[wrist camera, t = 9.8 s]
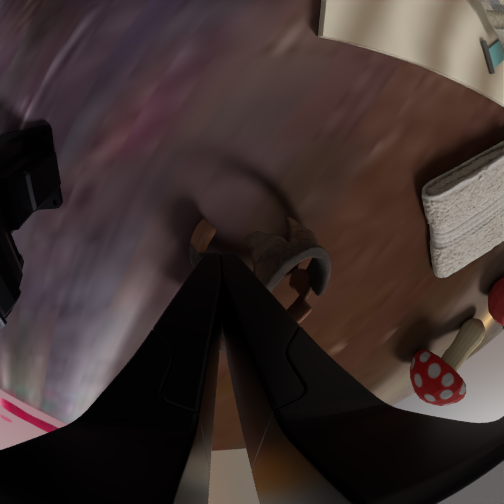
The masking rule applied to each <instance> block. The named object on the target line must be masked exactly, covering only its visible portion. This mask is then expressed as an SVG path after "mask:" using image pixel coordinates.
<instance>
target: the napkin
mask: <svg viewBox="0 0 504 504" xmlns="http://www.w3.org/2000/svg"><path fill="white" fill-rule="evenodd" d="M499 1H500V3H501V4H504V0H499ZM318 37H321V38H325V39H330V40H335V41H339V42H343V43H348V44H352V45H356V46H359V47H363V48H367V49H370V50H374V51H377V52H380V53H384V54H387V55H390V56H393V57H396V58H399V59H402V60H405V61H407V62H410V63H413V64H415V65H418V66H421V67H423V68H426V69H428V70H431V71H433V72H435V73H438V74H440V75H442V76H445V77H447V78H449V79H451V80H454V81H456V82H458V83H460V84H462V85H464V86H466V87H468V88H470V89H472V90H474V91H476V92H478V93H480V94H482V95H483V96H485V97H487V98H489V99H491V100H492V101H494V102H496V103H498V104H499V105H501V106H503V107H504V53H503V50H502V48H501V45H500V43H499V40H498V38H497V35H496V33H495V31H494V28H493V26H492V25H491V24H490V22H489V20H488V17H487V13H486V11H485V9H484V7H483V5H482V3H481V1H480V0H321V10H320V20H319V30H318Z"/></svg>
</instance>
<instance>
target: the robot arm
mask: <svg viewBox="0 0 504 504" xmlns="http://www.w3.org/2000/svg"><path fill="white" fill-rule="evenodd" d="M44 129H45V130H46V132H47V133H46V135H45V134H44ZM60 184H61V182H60V176H59V170H58V164H57V157H56V153H55V152H54V145H53V136H52V129H51V127H50V126H49V125H42V126H37V127H32V128H27V129H23V130H18V131H14V132H10V133H6V134H2V135H0V329H1V328H2V327H4V326H5V325H6V323H7V321H6V320H5V319H6V318H7V316H8V315H9V314H10V312H11V310H12V309H13V307H14V305H15V304H16V302H17V300H18V299H19V297H20V294H21V290H20V289H19V287H20V283H21V280H22V276H23V274H22V268H23V264H24V260H23V258H22V256H21V254H19V252H18V250H17V247H16V245H15V242H14V240H13V237H12V235H11V234H12V232H13V231H14V230H18V229H19V228H20V227H21V226H22V225H23V223H24V222H25V221H26V220H27V219H28V218H29V217H30V215H31V214H32V213H33V212H35V211H37V210H41V209H56V208H59V207H60V206H61V205H62V203H63V199H62V194H61V189H60ZM55 200H57V201H58V203H56V202H55ZM221 322H222V332H223V339H224V344H225V349H226V354H227V360H228V365H229V370H230V375H231V380H232V385H233V390H234V395H235V399H236V404H237V409H238V413H239V418H240V423H241V427H242V432H243V436H244V440H245V445H246V449H247V453H248V458H249V462H250V466H251V469H252V474H253V478H254V483H255V487H256V491H257V495H258V498H259V502H260V504H504V416H503V417H502V418H500V419H499V420H496V421H493V422H489V423H471V422H464V421H457V420H451V419H445V418H440V417H435V416H429V415H424V414H419V413H415V412H410V411H405V410H402V409H398V408H395V407H393V406H391V405H389V404H387V403H385V402H383V401H382V400H380V399H379V398H378V397H376V396H375V395H374V394H372V393H371V392H370V391H369V390H368V389H367V388H365V387H364V386H363V385H362V384H361V383H360V382H358V381H357V380H356V379H355V378H354V377H353V376H351V375H350V374H349V373H348V372H347V371H346V370H344V369H343V368H342V367H341V366H340V365H339V364H338V363H336V362H335V361H334V360H333V359H332V358H331V357H330V356H329V355H328V354H327V353H326V352H325V351H323V350H322V349H321V348H320V346H319V345H318V344H317V343H316V342H315V341H314V340H313V339H312V338H311V337H310V336H309V335H308V334H307V333H306V332H305V330H304V329H303V328H302V327H300V325H299V324H298V323H297V322H296V320H295V319H294V318H293V317H292V316H291V315H290V314H289V313H288V311H287V310H286V309H285V308H284V307H283V306H282V305H281V304H280V302H279V301H278V300H277V299H276V298H275V297H274V296H273V295H272V293H271V292H270V291H269V290H268V289H267V288H266V287H265V285H264V284H263V283H262V282H261V281H260V280H259V279H258V277H257V276H256V275H255V274H254V273H253V272H252V271H251V270H250V268H249V267H248V266H247V265H246V264H245V263H244V262H243V260H242V259H241V258H240V257H239V256H238V255H237V254H236V253H234V252H230V253H221V255H220V253H205V254H204V255H203V257H202V258H201V260H200V261H199V262H198V264H197V265H196V267H195V268H194V269H193V271H192V272H191V274H190V275H189V276H188V278H187V279H186V281H185V282H184V284H183V285H182V286H181V288H180V289H179V291H178V292H177V294H176V295H175V297H174V298H173V299H172V301H171V302H170V304H169V305H168V307H167V308H166V310H165V311H164V313H163V314H162V315H161V317H160V318H159V320H158V321H157V323H156V324H155V326H154V327H153V330H151V331H150V333H149V334H148V336H147V337H146V339H145V340H144V342H143V343H142V345H141V346H140V347H139V349H138V350H137V352H136V353H135V354H134V356H133V357H132V358H131V359H130V361H129V362H128V363H127V364H126V365H125V367H124V368H123V369H122V370H121V371H120V373H119V374H118V375H117V376H116V377H115V378H114V380H113V381H112V382H111V383H110V384H109V385H108V387H107V388H106V389H105V390H104V391H103V392H102V393H101V395H100V396H99V397H98V398H97V399H96V400H95V402H94V403H93V404H92V405H91V406H90V407H89V409H88V410H87V411H86V412H85V413H83V414H82V415H81V416H80V417H79V418H78V419H76V420H75V421H73V422H72V423H70V424H68V425H66V426H64V427H61V428H59V429H56V430H54V431H51V432H49V433H46V434H44V435H41V436H39V437H36V438H33V439H31V440H28V441H25V442H23V443H20V444H17V445H14V446H12V447H9V448H5V449H2V450H0V504H208V496H209V480H210V464H211V449H212V436H213V422H214V410H215V397H216V386H217V374H218V363H219V352H220V341H221Z"/></svg>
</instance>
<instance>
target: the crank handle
mask: <svg viewBox="0 0 504 504" xmlns="http://www.w3.org/2000/svg"><path fill="white" fill-rule="evenodd" d="M480 1H481V3H482V5H483V7H484V9H485V11H486V13H487V17H488V20H489V22H490V24H491V25H492V26H493V28H494V31H495V33H496V35H497V38H498V40H499V43H500V45H501V48H502V50H503V53H504V4H501V3H500V1H499V0H480Z"/></svg>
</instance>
